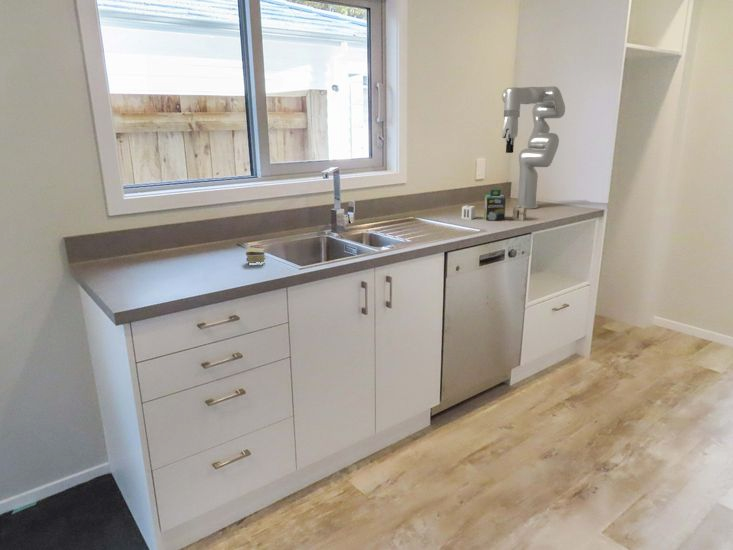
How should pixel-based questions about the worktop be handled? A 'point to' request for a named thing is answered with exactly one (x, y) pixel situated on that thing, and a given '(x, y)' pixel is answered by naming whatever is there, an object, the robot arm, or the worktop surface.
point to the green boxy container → (495, 206)
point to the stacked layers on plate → (255, 255)
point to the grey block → (468, 212)
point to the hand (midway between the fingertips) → (509, 152)
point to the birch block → (519, 213)
